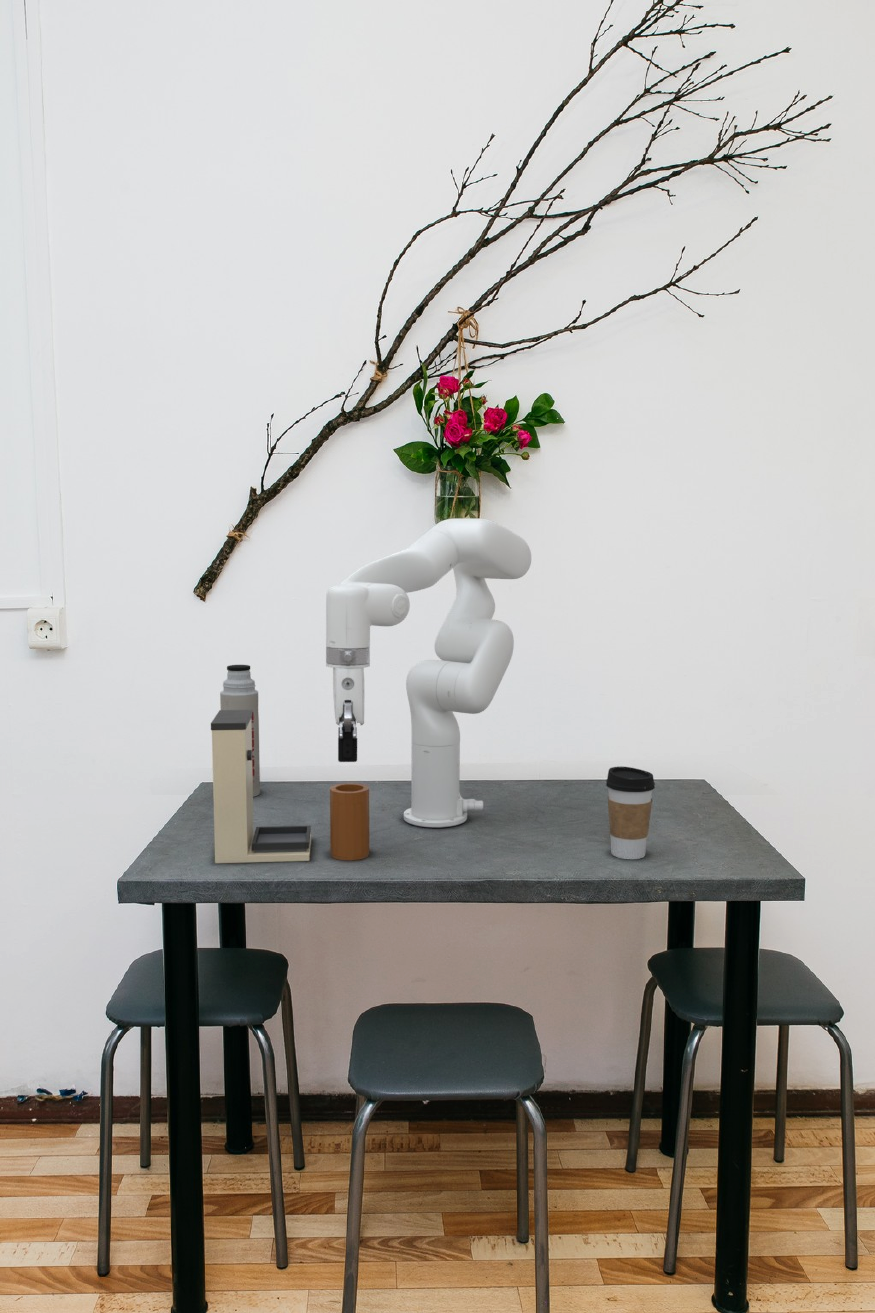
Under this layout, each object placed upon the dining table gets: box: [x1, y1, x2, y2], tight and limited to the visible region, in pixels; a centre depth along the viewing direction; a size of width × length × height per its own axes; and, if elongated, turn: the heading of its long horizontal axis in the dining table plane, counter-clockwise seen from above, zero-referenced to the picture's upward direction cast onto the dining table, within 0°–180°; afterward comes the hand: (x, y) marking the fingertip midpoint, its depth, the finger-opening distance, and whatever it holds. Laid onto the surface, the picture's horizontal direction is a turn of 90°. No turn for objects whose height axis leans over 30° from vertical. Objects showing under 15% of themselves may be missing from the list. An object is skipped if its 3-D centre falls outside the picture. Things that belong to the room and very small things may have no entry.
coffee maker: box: [210, 709, 312, 864], centre depth 174 cm, size 16×12×24 cm
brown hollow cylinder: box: [329, 782, 370, 861], centre depth 174 cm, size 7×7×12 cm
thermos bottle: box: [219, 664, 261, 798], centre depth 212 cm, size 8×8×28 cm
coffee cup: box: [605, 765, 656, 860], centre depth 174 cm, size 8×8×15 cm
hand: (347, 755), depth 172 cm, fingers open, 9 cm apart
